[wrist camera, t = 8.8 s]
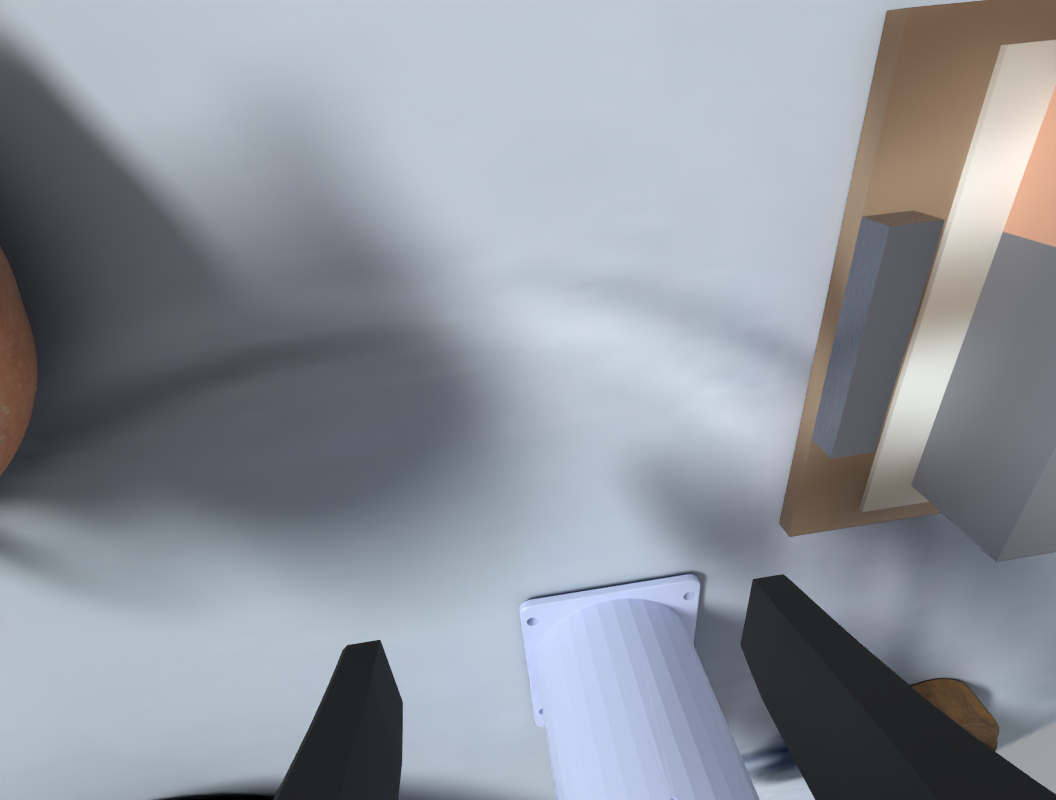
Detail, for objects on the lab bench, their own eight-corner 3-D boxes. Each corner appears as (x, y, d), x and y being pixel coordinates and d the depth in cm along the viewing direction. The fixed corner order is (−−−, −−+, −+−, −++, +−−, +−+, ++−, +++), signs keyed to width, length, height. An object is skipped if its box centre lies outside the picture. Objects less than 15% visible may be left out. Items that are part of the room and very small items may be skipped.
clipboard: (1061, 479, 24) (1107, 510, 23) (779, 523, 24) (805, 558, 22) (1340, -34, 15) (1454, -47, 13) (887, 10, 14) (947, 2, 12)
